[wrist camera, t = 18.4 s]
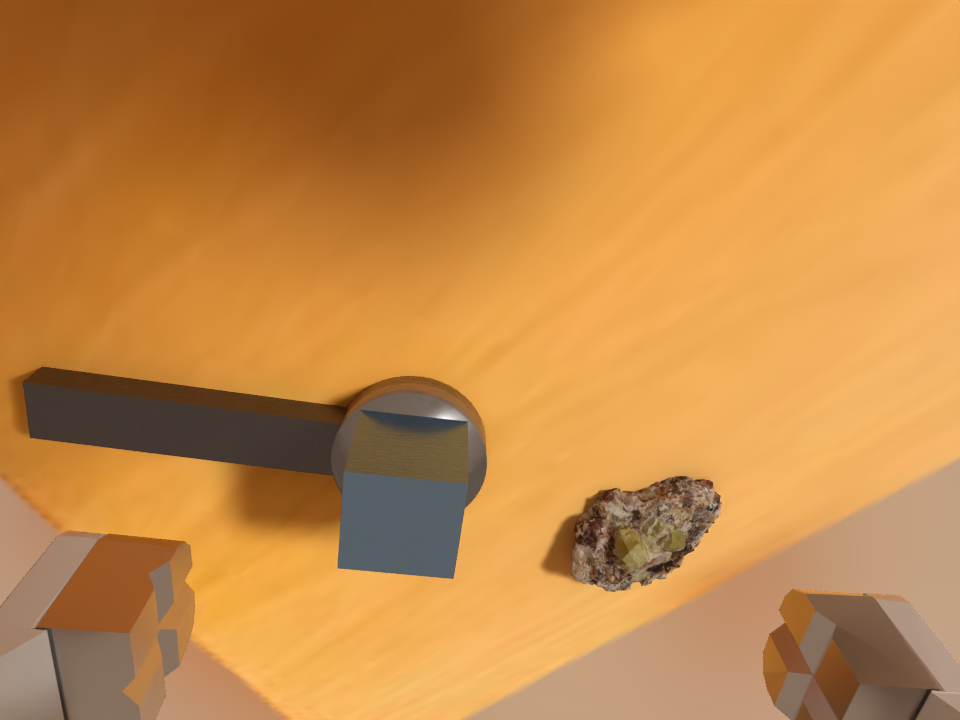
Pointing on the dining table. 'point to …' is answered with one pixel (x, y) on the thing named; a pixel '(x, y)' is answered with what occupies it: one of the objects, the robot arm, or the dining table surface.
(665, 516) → the mineral rock
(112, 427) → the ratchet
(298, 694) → the dining table surface
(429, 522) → the slate grey cube
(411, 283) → the dining table surface
